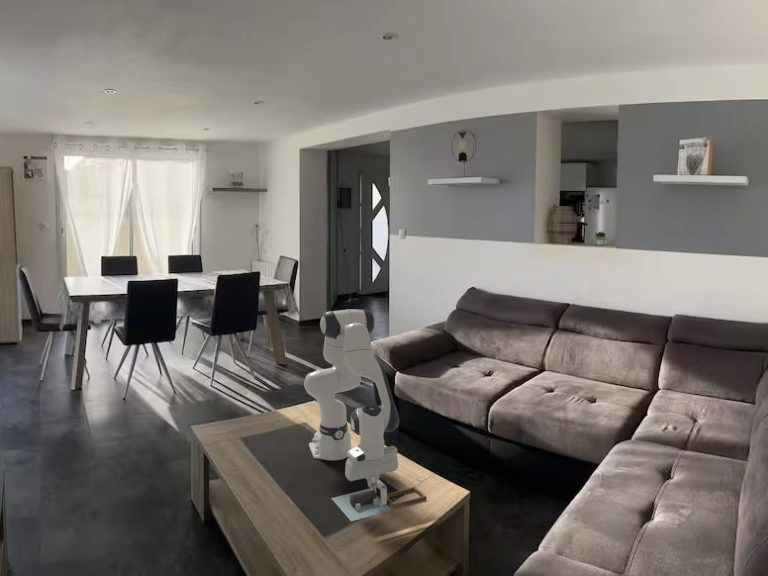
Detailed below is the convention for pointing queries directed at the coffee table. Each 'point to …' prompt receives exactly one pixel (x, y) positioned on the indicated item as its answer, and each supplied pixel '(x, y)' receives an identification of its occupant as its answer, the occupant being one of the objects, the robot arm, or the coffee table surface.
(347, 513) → the clip board
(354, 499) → the dark grey rounded bar
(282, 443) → the coffee table surface
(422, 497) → the tray
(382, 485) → the u-shaped staple bracket
